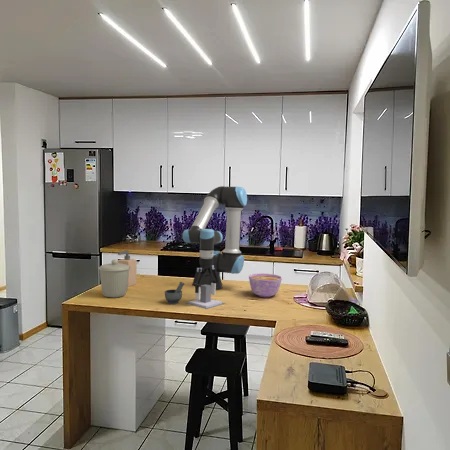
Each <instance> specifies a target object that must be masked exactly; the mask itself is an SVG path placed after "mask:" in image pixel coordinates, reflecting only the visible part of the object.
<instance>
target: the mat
mask: <svg viewBox="0 0 450 450" xmlns="http://www.w3.org/2000/svg"><path fill="white" fill-rule="evenodd" d="M226 304H227V303H226V302H222V304H218V305H215V306H212V307H208V308H205V307H201V306H197V305H193V304H189V301H188V302H185V305H190V306H193V307H197V308H201V309H205V310H208V309H212V308H215V307H218V306H222V305H226Z"/></svg>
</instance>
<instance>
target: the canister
mask: <svg viewBox="0 0 450 450" xmlns="http://www.w3.org/2000/svg"><path fill="white" fill-rule="evenodd" d="M130 268H131V267H130V266H128V265H126V264H120V263H118V259H112V260H111V262H110V263H105V264H102V265H100V266H98V268H97V269H98V270H99V276H100V279H99V280H100V286H101V293H102V295H103V296H104V297H106V298H114V299H115V298H122V297H124V296H125V295H126V293H127V290H128V287H127V286H128V278H129V269H130Z"/></svg>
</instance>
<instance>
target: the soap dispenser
mask: <svg viewBox="0 0 450 450" xmlns="http://www.w3.org/2000/svg"><path fill="white" fill-rule="evenodd" d="M117 255H119V256H121V255H124V258H121V259H117V261H118V263H120V264H126V265H128V266H130V267H131V268H130V269H129V278H128V286H127V288H128V287H132V286H135V285H137V263H138V262H137V260H138V259H136V258H131V255H129V250H124V251H118V252H117Z"/></svg>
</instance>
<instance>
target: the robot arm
mask: <svg viewBox="0 0 450 450" xmlns="http://www.w3.org/2000/svg"><path fill="white" fill-rule="evenodd" d="M247 203H248V195H247V191H246V189H245V187H243V186H242V187H241V186H222V185H220V186H217V187H215V188H214V189H212V190H210V191H209V192H208V193H207V194H206V196H205V197H204V199H203V204H202V207H201V209H200V210H199V212H198V215H197V216H196V217H195V219H194V220H193V221H194V222H192V225H191V226H190V229H189V228H188V229H185V230H184V231H183V232H182V239H183V242H184V243H189V244H199V265H200V267H196V269H195V274H194V278H193V281H192V283H191V285H192V287H194V293H195V300H197V299H200V293H201V285H205V284H206V285H211V295H212V296H216V290H221V289H222V288H223V283H222V279H221V273H225V274H226V273H227V274H228V273H229V274H236V275H237V274H240V273H241V272H242V270H243V268H244V264H245V256H243V255H242V251H241V250H240V239H241V238H240V236H241V235H240V233H241V218H242V216H241V213H242V211H243V210H244V207H245V206H247ZM219 206H224V208H225V210H226V211H227V212H226V227H225V228H226V231H225V248H224V250H223V251H222V253H221V251H220V250H215V247H214V246H216V245H219V244H220V243H222V241H223V237H224V235H223V234H222V232H220V231H219V230H214V229H213V228H207V226H208V223H209V222H210V219H211V218H212V215H213V214H214V211H215V210H216V209H218V207H219Z"/></svg>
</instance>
